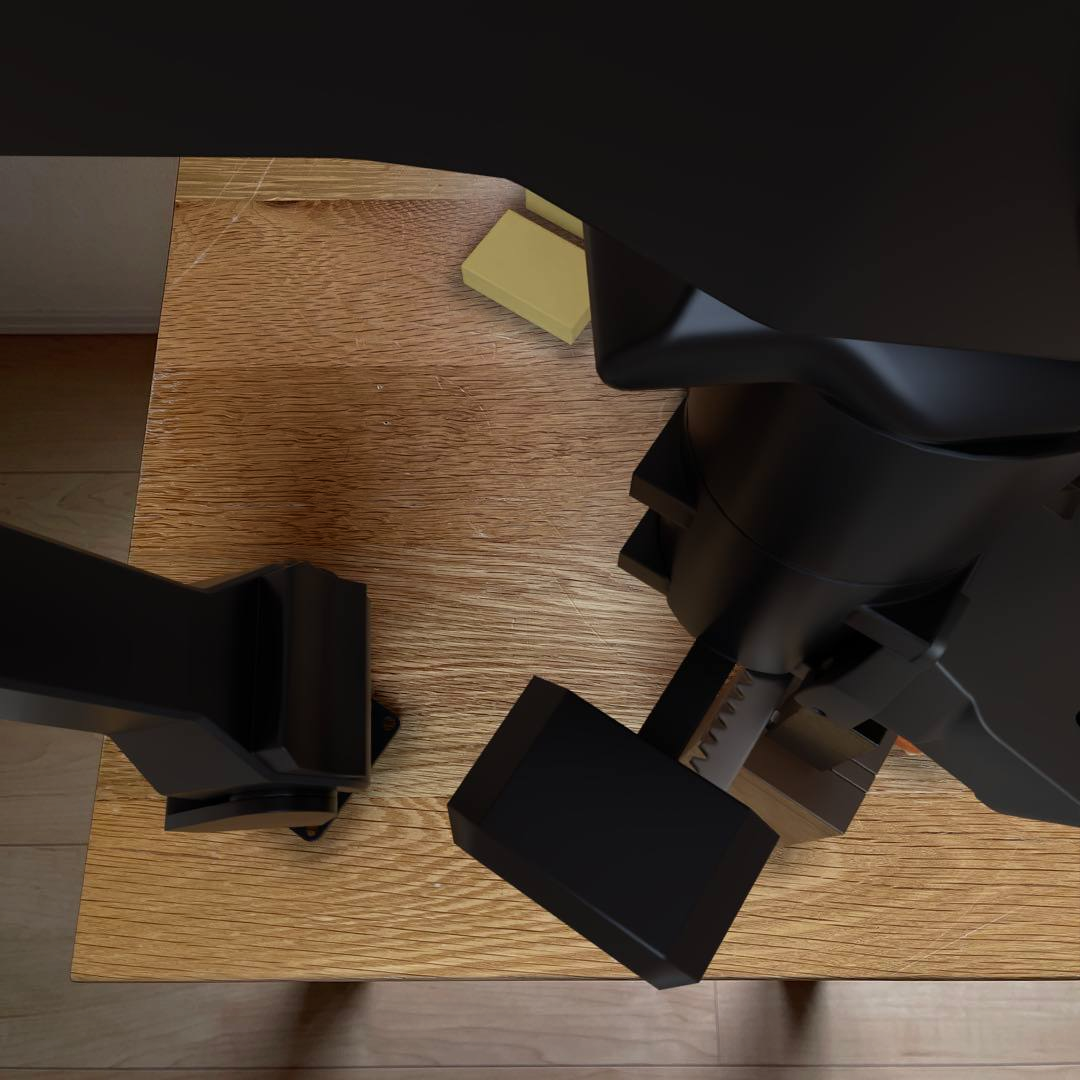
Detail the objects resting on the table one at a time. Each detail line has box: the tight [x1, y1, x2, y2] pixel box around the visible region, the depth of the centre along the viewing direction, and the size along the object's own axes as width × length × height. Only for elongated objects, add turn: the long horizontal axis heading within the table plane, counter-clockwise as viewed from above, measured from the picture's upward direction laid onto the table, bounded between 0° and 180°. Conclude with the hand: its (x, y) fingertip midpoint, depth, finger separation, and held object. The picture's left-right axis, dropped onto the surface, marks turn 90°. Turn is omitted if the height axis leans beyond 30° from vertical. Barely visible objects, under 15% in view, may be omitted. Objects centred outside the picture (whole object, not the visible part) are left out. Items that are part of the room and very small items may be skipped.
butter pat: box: [524, 188, 584, 241], centre depth 51 cm, size 2×7×2 cm, turn 56°
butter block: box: [460, 208, 591, 346], centre depth 50 cm, size 4×7×2 cm, turn 56°
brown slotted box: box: [678, 666, 898, 848], centre depth 37 cm, size 4×6×10 cm
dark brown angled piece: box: [765, 689, 889, 772], centre depth 30 cm, size 2×2×8 cm
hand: (716, 648), depth 30 cm, fingers open, 9 cm apart
